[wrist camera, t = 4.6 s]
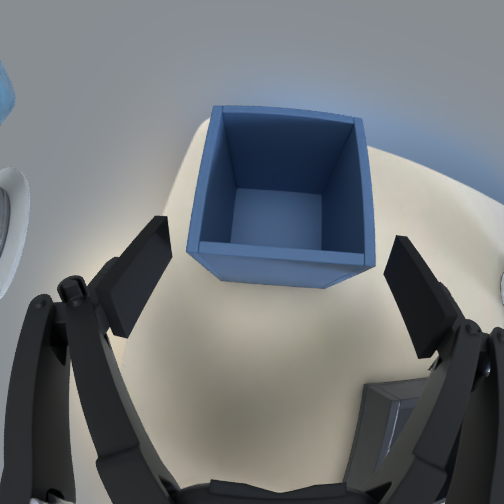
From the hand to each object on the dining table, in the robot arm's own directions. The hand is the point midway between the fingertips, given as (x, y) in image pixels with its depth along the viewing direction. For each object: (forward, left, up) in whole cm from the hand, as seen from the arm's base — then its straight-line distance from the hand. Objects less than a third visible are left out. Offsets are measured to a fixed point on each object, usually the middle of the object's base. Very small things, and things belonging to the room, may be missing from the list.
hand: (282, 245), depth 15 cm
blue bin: (0, +3, -8) cm, 9 cm away
